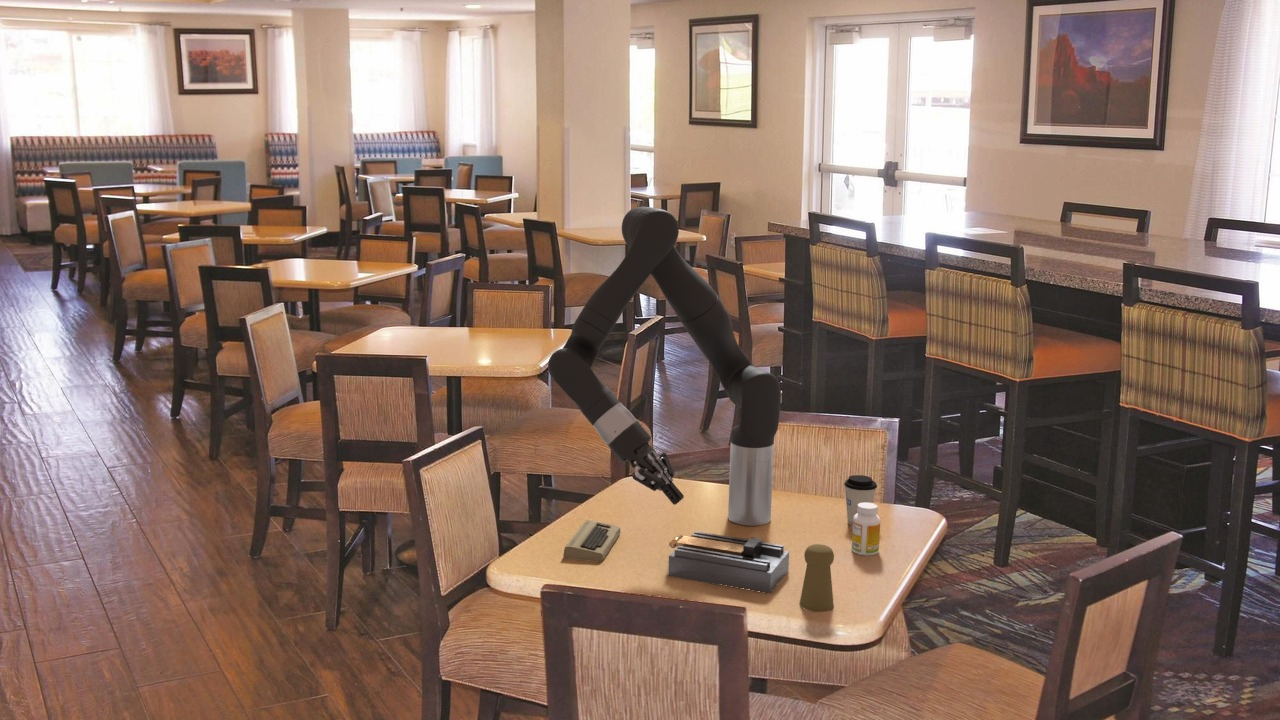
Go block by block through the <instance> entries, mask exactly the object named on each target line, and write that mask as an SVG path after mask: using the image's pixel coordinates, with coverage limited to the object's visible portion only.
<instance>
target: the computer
mask: <svg viewBox="0 0 1280 720" xmlns="http://www.w3.org/2000/svg"><path fill="white" fill-rule="evenodd" d="M620 534H621V527H620V526H618V525H615V524H610V523H605V522H601V521H595V520H585V521H583V523H581V525H580V526H579V528H578V530H577V531H576V532H575V533H574V534H573V536H572V537H571V539H570V540H569V541H568V542H567V544H566V546H565V547H564V550H563V553H562V554H563V559H567V560H568V559H569V560H576V561H579V560H580V561H587V562H589V561H590V562H598V563H602V562H603V560H604V558H606V556H607V555H608V553H609V551H610V550H611V548H612V547H613V545H614V544H615V542H616V540H617V539H618V538H619V536H620Z"/></svg>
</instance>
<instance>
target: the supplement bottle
mask: <svg viewBox="0 0 1280 720" xmlns="http://www.w3.org/2000/svg"><path fill="white" fill-rule="evenodd" d="M878 507H879V506H878V504H876V503H875V502H873V503H868V502H863V503H859V504H858V506H857V512H858V513H857V514H855V515H854V517H853V526H852V536H851V551H852V552H854V553H855V554H857V555H860V556H875V555H877V554H878V553H879V551H880V536H881V535H880V532H881V518H880V516H879V515H877V514H878V511H879V509H878Z"/></svg>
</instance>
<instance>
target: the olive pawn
mask: <svg viewBox="0 0 1280 720" xmlns="http://www.w3.org/2000/svg"><path fill="white" fill-rule="evenodd" d="M803 553H804V555H803V557H804V560H805V563H806V567H805V568H806V569H805V573H804V577H803V583H802V584H803V585H802V589H801V594H800V598H799V599H800V600H799V606H800V607H801V608H802V609H804V608H805V609H804V610H806V609H807V611H810V612H815V613H816V612H819V613H820V612H828V611H830V610H833V609H834V594H833V593H834V592H833V583H832V571H831V566H832V564H833V563H834V560H835V553H834V551H833V548H831V547H830V546H829V545H825V544H819V543H815V544H811V545H809V546H807V547H806V549H805V550H804V552H803Z"/></svg>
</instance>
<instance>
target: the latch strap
mask: <svg viewBox="0 0 1280 720" xmlns="http://www.w3.org/2000/svg"><path fill="white" fill-rule="evenodd" d="M668 544H669V545H668V546H669V547H670V548H671V549H676V548H678V546H684V547H690V548H696V549H702V550H708V551H714V552H719V553H725V554H731V555H737V556H743V546H744V545H741V544H735V543H728V542H722V541H715V540H709V539H702V538H696V537H690V536H688V535H682V534H678V535H676V536H675V537H674V538H673V539H672V540H671V541H670V542H669V543H668Z"/></svg>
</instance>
